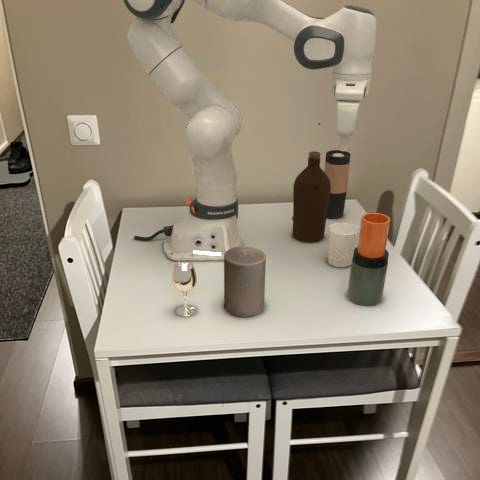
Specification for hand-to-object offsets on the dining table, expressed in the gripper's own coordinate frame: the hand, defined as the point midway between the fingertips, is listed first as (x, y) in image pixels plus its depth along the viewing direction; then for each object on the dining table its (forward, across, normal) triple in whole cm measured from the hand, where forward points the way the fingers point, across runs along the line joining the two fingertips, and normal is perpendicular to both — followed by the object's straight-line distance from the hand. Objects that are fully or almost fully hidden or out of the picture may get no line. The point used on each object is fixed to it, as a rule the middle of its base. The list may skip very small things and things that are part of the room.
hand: (344, 145), depth 137 cm
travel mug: (+31, -31, -2) cm, 44 cm away
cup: (+19, +20, +9) cm, 29 cm away
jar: (+31, +20, +9) cm, 38 cm away
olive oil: (+31, -13, -8) cm, 35 cm away
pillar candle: (+31, +31, -19) cm, 48 cm away
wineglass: (+31, +36, -32) cm, 57 cm away
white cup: (+31, +2, +2) cm, 31 cm away
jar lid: (+19, +20, +9) cm, 29 cm away
